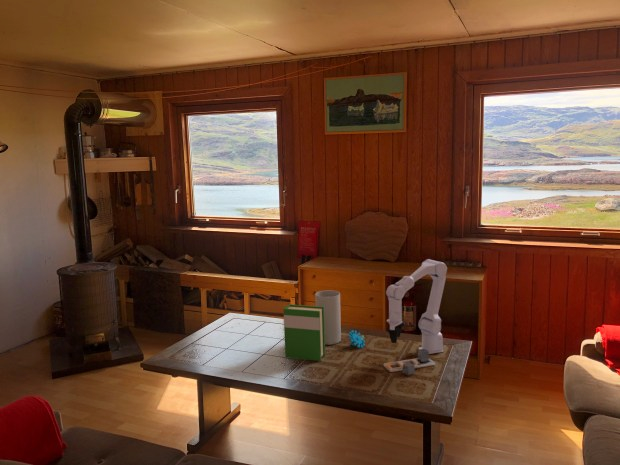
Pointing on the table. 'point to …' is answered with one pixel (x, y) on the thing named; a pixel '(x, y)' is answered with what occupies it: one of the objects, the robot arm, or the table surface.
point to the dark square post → (423, 356)
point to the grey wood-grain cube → (408, 368)
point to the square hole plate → (414, 361)
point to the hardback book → (304, 332)
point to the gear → (356, 339)
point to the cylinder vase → (330, 315)
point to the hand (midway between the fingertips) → (395, 339)
